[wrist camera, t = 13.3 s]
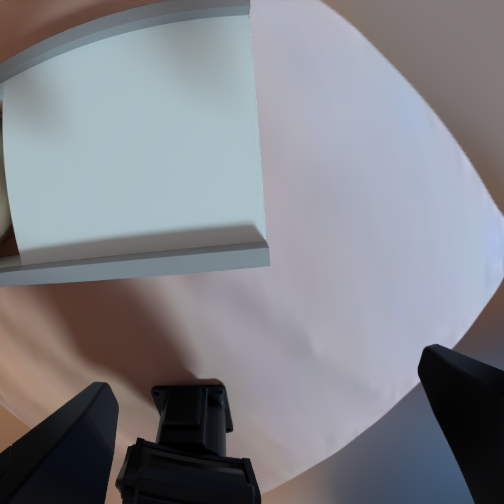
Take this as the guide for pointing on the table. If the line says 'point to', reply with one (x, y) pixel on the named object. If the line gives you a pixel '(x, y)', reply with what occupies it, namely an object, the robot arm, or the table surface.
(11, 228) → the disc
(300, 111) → the table surface
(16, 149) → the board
